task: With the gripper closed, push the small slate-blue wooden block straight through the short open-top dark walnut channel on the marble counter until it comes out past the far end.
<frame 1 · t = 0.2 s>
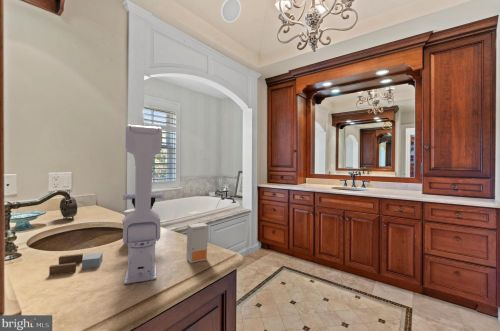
hand: (143, 216, 92), 11 cm above the table, tool pointing down, fingers open, 3 cm apart
alarm clock: (67, 219, 124), on the table
skincare box: (196, 260, 78), on the table
supplement bottle: (134, 240, 93), on the table, touching gripper
block: (92, 265, 72), on the table
channel: (67, 267, 69), on the table
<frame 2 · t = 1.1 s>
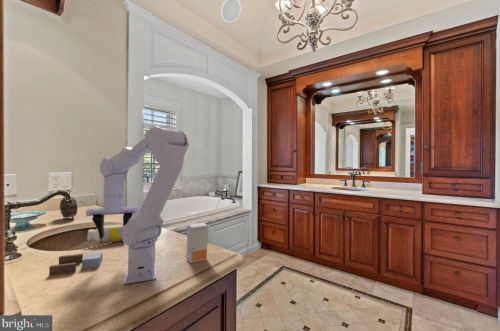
hand: (113, 236, 74), 8 cm above the table, tool pointing down, fingers open, 6 cm apart
supplement bottle: (126, 232, 94), point 3 cm above the table
everything else where it was.
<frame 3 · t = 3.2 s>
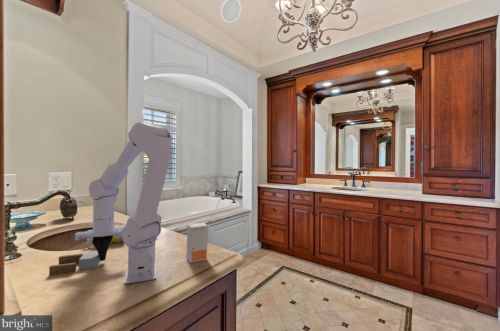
hand: (102, 259, 73), 1 cm above the table, tool pointing down, fingers closed
block: (90, 265, 71), on the table, touching gripper
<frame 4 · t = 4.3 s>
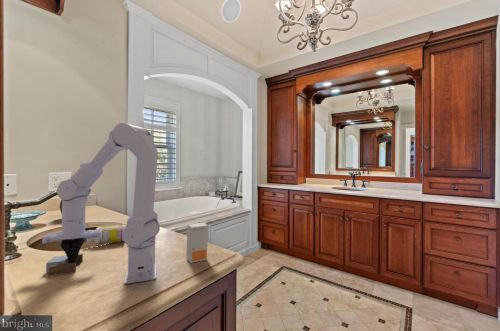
hand: (73, 263, 70), 1 cm above the table, tool pointing down, fingers closed
block: (59, 268, 69), on the table, touching gripper
everything else where it was.
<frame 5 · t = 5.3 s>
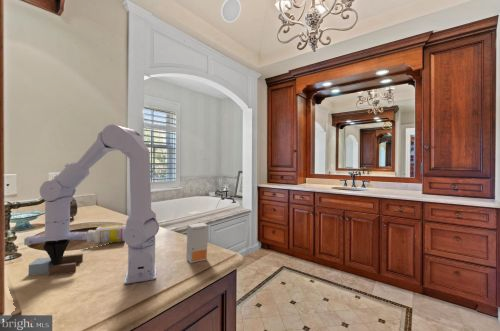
hand: (57, 265, 68), 1 cm above the table, tool pointing down, fingers closed
block: (42, 270, 67), on the table, touching gripper
everything else where it was.
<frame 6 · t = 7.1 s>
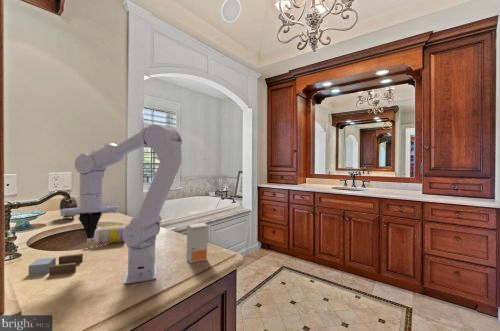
hand: (90, 237, 70), 9 cm above the table, tool pointing down, fingers closed
block: (42, 271, 67), on the table
everything else where it was.
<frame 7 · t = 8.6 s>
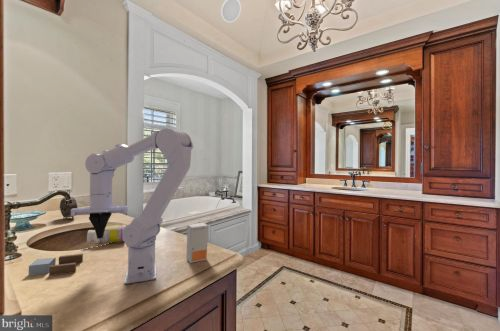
hand: (100, 237, 70), 9 cm above the table, tool pointing down, fingers closed
nothing on the table moved.
at the end: block 1.3 cm from the target spot, on the table; block tilted 0° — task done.
